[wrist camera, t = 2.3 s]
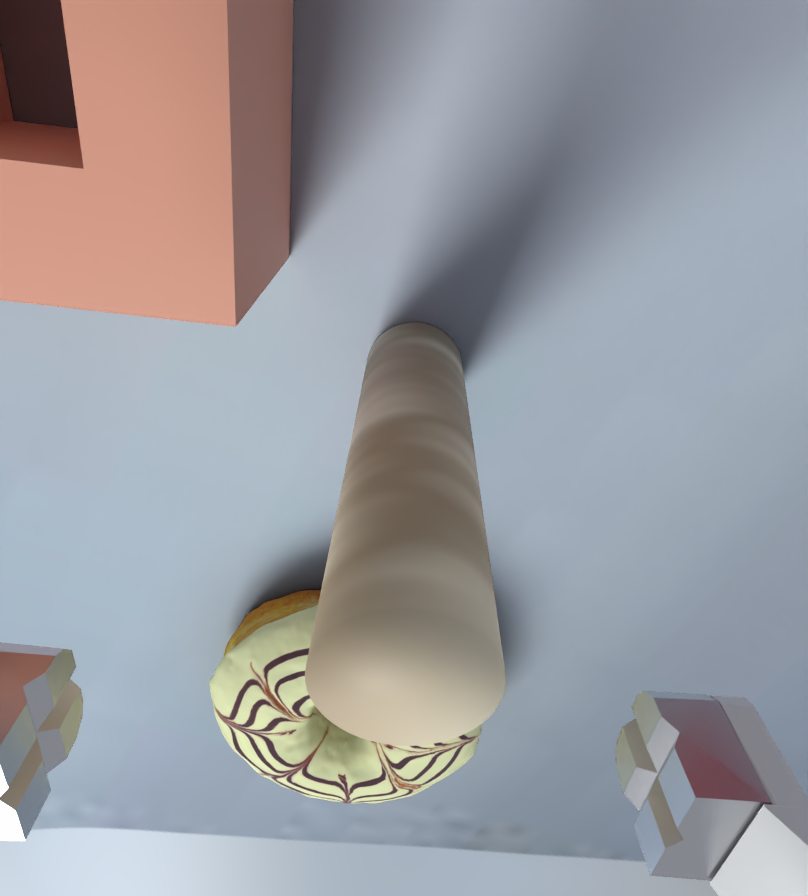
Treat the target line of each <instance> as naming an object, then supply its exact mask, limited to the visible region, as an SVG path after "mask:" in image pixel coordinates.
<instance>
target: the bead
mask: <svg viewBox="0 0 808 896" xmlns="http://www.w3.org/2000/svg"><path fill="white" fill-rule="evenodd" d="M61 6H62V13H63V21H64V28H65V35H66V43H67V50H68V57H69V65H70V72H71V79H72V87H73V94H74V101H75V108H76V116H77V123H78V129H77V128H69V127H61V126H53V125H44V124H36V123H28V122H20V121H14V120H13V114H12V109H11V103H10V98H9V92H8V87H7V81H6V76H5V70H4V65H3V59H2V54H1V48H0V300H4V301H13V302H22V303H31V304H39V305H48V306H57V307H66V308H74V309H83V310H92V311H101V312H110V313H118V314H127V315H136V316H145V317H154V318H162V319H171V320H180V321H189V322H197V323H206V324H215V325H224V326H233V327H236V326H237V324H238V323H239V322H240V321H241V319H242V318H243V317H244V315H245V314H246V313H247V311H248V310H249V309H250V308H251V306H252V305H253V304H254V302H255V301H256V300H257V298H258V297H259V296H260V295H261V293H262V292H263V291H264V289H265V288H266V287H267V285H268V284H269V283H270V281H271V280H272V279H273V278H274V276H275V275H276V274H277V272H278V271H279V270H280V268H281V267H282V266H283V265H284V263H285V262H286V261H287V259H288V258H289V238H290V181H291V123H292V65H293V8H294V0H61Z"/></svg>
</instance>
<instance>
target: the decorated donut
mask: <svg viewBox="0 0 808 896" xmlns="http://www.w3.org/2000/svg"><path fill="white" fill-rule="evenodd" d="M320 593H321V590H303V591H298V592H295V593H292V594H290V595H287V596H284V597H282V598H278V599H274V600H271V601H268V602H265V603H263V604H262V605H261V606H260V607H258V608H257V609H254V610H252V611H251V612H250V613H248V614H247V615H246V617H245V619H244V620H243V622H242V624H241V625H240V626H239V628H238V629H237V630H236V632H235V633H234V634H233V636H232V637H231V639H230V641H229V642H228V644H227V646H226V649H225V654H224V657H223V659H222V660H221V662H220V664H219V665H218V667H217V669H216V671H215V674H214V675H213V677H212V678H211V679H210V683H209V686H210V690H211V697H212V701H213V706H214V713H215V716H216V719H217V722H218V724H219V726H220V728H221V731H222V733H223V735H224V737H225V738H226V740H227V742H228V744H229V745H230V746H231V747H232V748H233V750H234V751H235V752H236V753H237V754H239V755H240V756H241V757H242V758H243V759H244V760H245V761H247V762H248V764H249V765H250V766H251V767H252V768H253V769H254V770H255V771H256V772H257V773H259V774H260V775H262V776H263V777H265V778H269V779H271V780H272V781H274V782H275V783H277V784H279V785H281V786H283V787H286V788H289V789H292V790H294V791H296V792H298V793H301V794H303V795H305V796H308V797H311V798H318V799H325V800H329V801H338V802H343V803H380V802H384V801H390V800H395V799H399V798H404V797H409V796H412V795H414V794H416V793H419V792H421V791H422V790H424V789H426V788H428V787H430V786H431V785H433V784H435V783H436V782H438V781H440V780H442V779H444V778H445V777H447V776H448V775H450V774H451V773H453V772H455V771H456V770H458V769H459V768H460V767H461V766H463V765H464V764H465V763H466V762H467V761H468V760H469V759H470V758H471V757H472V756H473V755H474V753H475V750H476V747H477V744H478V741H479V736H480V734H481V731H482V729H481V724H480V725H479V726H478V727H476V728H475V729H473V730H471V731H469V732H467V733H466V734H463V735H461V736H459V737H456V738H454V739H450V740H447V741H443V742H439V743H434V744H428V745H418V746H400V745H389V744H382V743H378V742H373V741H369V740H366V739H363V738H360V737H357V736H355V735H353V734H350V733H348V732H346V731H345V730H343V729H341V728H339V727H338V726H336V725H335V724H333V723H332V722H330V721H329V720H328V719H327V718H326V717H325V716H324V715H322V713H321V712H320V711H319V710H318V709H317V708H316V706H315V705H314V703H313V702H312V700H311V698H310V696H309V694H308V691H307V687H306V683H305V669H306V663H307V658H308V653H309V648H310V643H311V638H312V633H313V628H314V623H315V618H316V613H317V608H318V603H319V598H320Z"/></svg>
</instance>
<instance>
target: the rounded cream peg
mask: <svg viewBox="0 0 808 896" xmlns="http://www.w3.org/2000/svg"><path fill="white" fill-rule="evenodd" d="M305 683H306V687H307V691H308V694H309V696H310V698H311V700H312V702H313V703H314V705H315V706H316V708H317V709H318V710H319V711H320V712H321V713H322V715H324V716H325V717H326V718H327V719H328V720H329V721H330V722H332V723H333V724H335V725H336V726H338V727H339V728H341V729H343V730H345V731H346V732H348V733H350V734H353V735H355V736H357V737H360V738H363V739H366V740H369V741H373V742H378V743H382V744H389V745H400V746H418V745H428V744H434V743H439V742H443V741H447V740H450V739H454V738H456V737H459V736H461V735H463V734H466V733H467V732H469V731H471V730H473V729H475V728H476V727H478V726H479V725H480V724H482V723H483V722H484V721H485V720H487V719H488V718H489V717H490V716H491V715H492V713H493V712H494V711H495V710H496V708H497V707H498V705H499V704H500V702H501V700H502V697H503V695H504V691H505V686H506V673H505V666H504V659H503V652H502V644H501V637H500V630H499V623H498V616H497V609H496V602H495V595H494V588H493V581H492V573H491V566H490V559H489V552H488V545H487V538H486V531H485V524H484V517H483V509H482V502H481V495H480V488H479V481H478V474H477V467H476V460H475V453H474V446H473V438H472V431H471V424H470V417H469V410H468V403H467V396H466V389H465V382H464V374H463V367H462V361H461V356H460V353H459V350H458V348H457V346H456V344H455V343H454V341H453V340H452V339H451V338H450V337H449V336H448V335H447V334H446V333H445V332H444V331H442V330H440V329H439V328H437V327H435V326H432V325H429V324H426V323H420V322H409V323H403V324H399V325H396V326H394V327H392V328H390V329H388V330H387V331H385V332H384V333H383V334H382V335H380V336H379V337H378V339H377V340H376V341H375V342H374V344H373V345H372V347H371V350H370V352H369V355H368V359H367V364H366V369H365V374H364V379H363V384H362V389H361V394H360V399H359V404H358V409H357V414H356V419H355V424H354V429H353V434H352V439H351V444H350V449H349V454H348V459H347V464H346V469H345V474H344V479H343V484H342V489H341V494H340V499H339V504H338V508H337V513H336V518H335V523H334V528H333V533H332V538H331V543H330V548H329V553H328V558H327V563H326V568H325V573H324V578H323V583H322V588H321V593H320V598H319V603H318V608H317V613H316V618H315V623H314V628H313V633H312V638H311V643H310V648H309V653H308V658H307V663H306V669H305Z"/></svg>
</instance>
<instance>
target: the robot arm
mask: <svg viewBox="0 0 808 896" xmlns="http://www.w3.org/2000/svg"><path fill="white" fill-rule="evenodd" d="M75 668H76V664H75V660H74V657H73V653H72V650H68V649H60V648H50V647H40V646H30V645H21V644H11V643H1V642H0V840H12V841H13V840H14V841H25V840H26V838H27V836H28V834H29V832H30V830H31V828H32V826H33V824H34V822H35V820H36V819H37V817H38V815H39V813H40V811H41V809H42V807H43V805H44V803H45V801H46V799H47V797H48V795H49V793H50V791H51V789H50V785H49V780H48V776H47V773H48V772H49V771H51V770H52V769H53V768H55V767H56V766H57V765H59V764H60V763H61V762H63V761H64V760H65V759H67V757H68V755H69V752H70V750H71V748H72V746H73V744H74V742H75V740H76V737H77V734H78V730H79V726H80V723H81V719H82V711H83V698H82V693H81V688H79V687H78V686H77V685H76V684H75V683H74V682H73V681H71V680H70V677H71V675H72V673H73V672H74V670H75ZM632 710H633V713H634V715H635V718H636V719H634V720H632V721H631V722H629V723H628V724H626V725H625V726H623V727H622V730H621V732H620V735H619V738H618V740H617V749H616V764H617V771H618V777H619V780H620V783H621V787H622V790H623V793H624V795H625V796H626V797H627V798H628V799H629V800H630V801H631V802H632V803H633V804H634V805H635V806H636V807H637V808H638V809H639V812H638V815H637V818H636V820H635V823H634V828H635V831H636V834H637V837H638V840H639V843H640V846H641V849H642V852H643V855H644V858H645V861H646V864H647V867H648V870H649V874H650V875H651V876H662V877H675V878H687V879H697V880H709V881H711V883H710V885H711V886H712V888H713V889H714V890H715V891H716V892H717V894H718V895H719V896H808V798H807V796H806V794H805V793H804V791H803V789H802V788H801V786H800V784H799V783H798V781H797V779H796V777H795V776H794V774H793V772H792V771H791V769H790V767H789V765H788V764H787V762H786V760H785V759H784V757H783V755H782V753H781V752H780V750H779V748H778V747H777V745H776V743H775V742H774V740H773V738H772V736H771V735H770V733H769V731H768V730H767V728H766V726H765V724H764V723H763V721H762V719H761V718H760V716H759V714H758V712H757V711H756V709H755V707H754V706H753V705H752V704H751V703H750V702H749V701H748V700H747V699H745V698H738V697H725V696H708V695H706V694H690V693H673V692H657V691H643V692H641V693H640V694H638V695H637V696H636V698H635V701H634V703H633V705H632Z"/></svg>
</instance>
